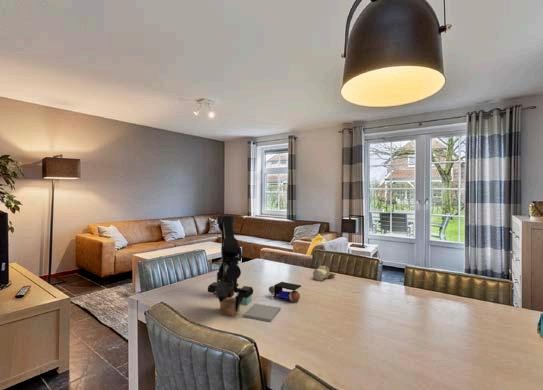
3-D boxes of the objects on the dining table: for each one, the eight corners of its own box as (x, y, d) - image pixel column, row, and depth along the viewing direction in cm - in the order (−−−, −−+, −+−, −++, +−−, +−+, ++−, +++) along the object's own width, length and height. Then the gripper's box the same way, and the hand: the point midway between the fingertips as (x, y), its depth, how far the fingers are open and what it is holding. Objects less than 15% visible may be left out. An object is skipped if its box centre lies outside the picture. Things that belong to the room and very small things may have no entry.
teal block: (237, 303, 129) (237, 292, 129) (241, 299, 134) (241, 289, 134) (247, 305, 127) (247, 294, 127) (251, 301, 132) (251, 290, 132)
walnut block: (220, 314, 118) (220, 302, 118) (227, 308, 123) (227, 297, 123) (233, 316, 116) (233, 304, 116) (239, 310, 121) (239, 299, 121)
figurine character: (268, 300, 137) (295, 304, 128) (267, 284, 137) (294, 287, 128) (276, 296, 142) (303, 300, 133) (275, 280, 143) (301, 283, 134)
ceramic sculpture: (308, 264, 165) (321, 261, 177) (307, 279, 165) (320, 275, 176) (324, 267, 158) (337, 264, 170) (324, 283, 158) (336, 279, 170)
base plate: (243, 316, 115) (243, 314, 115) (254, 305, 127) (254, 303, 126) (271, 321, 111) (271, 319, 111) (280, 309, 122) (280, 307, 122)
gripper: (200, 275, 115) (199, 314, 115) (242, 281, 108) (241, 321, 109) (214, 268, 125) (214, 304, 126) (253, 273, 119) (253, 310, 119)
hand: (230, 309), depth 119 cm, fingers closed on walnut block, 6 cm apart
